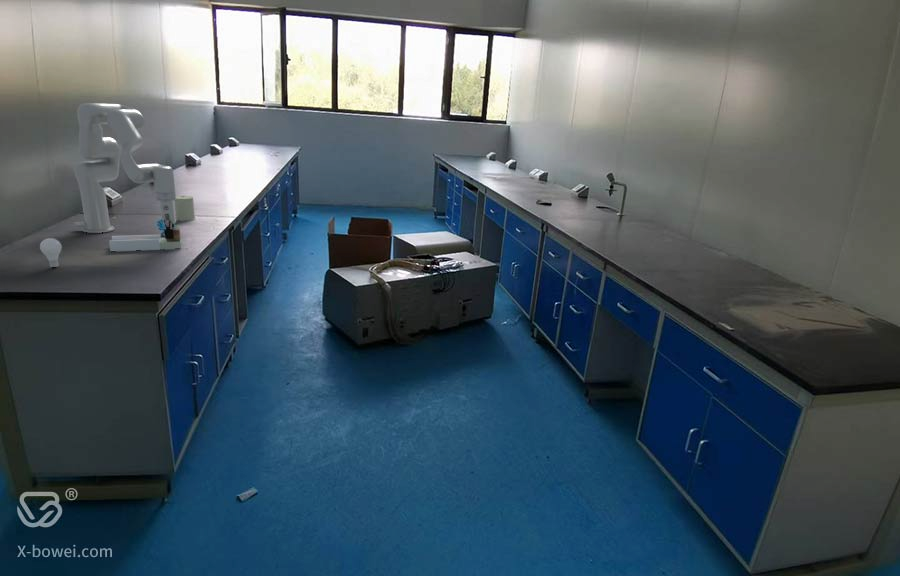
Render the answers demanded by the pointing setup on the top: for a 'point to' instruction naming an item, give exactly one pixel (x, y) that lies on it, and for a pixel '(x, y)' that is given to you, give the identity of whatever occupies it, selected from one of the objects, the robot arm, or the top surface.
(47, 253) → the lightbulb
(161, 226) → the gear
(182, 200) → the can
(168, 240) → the block
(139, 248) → the trough
